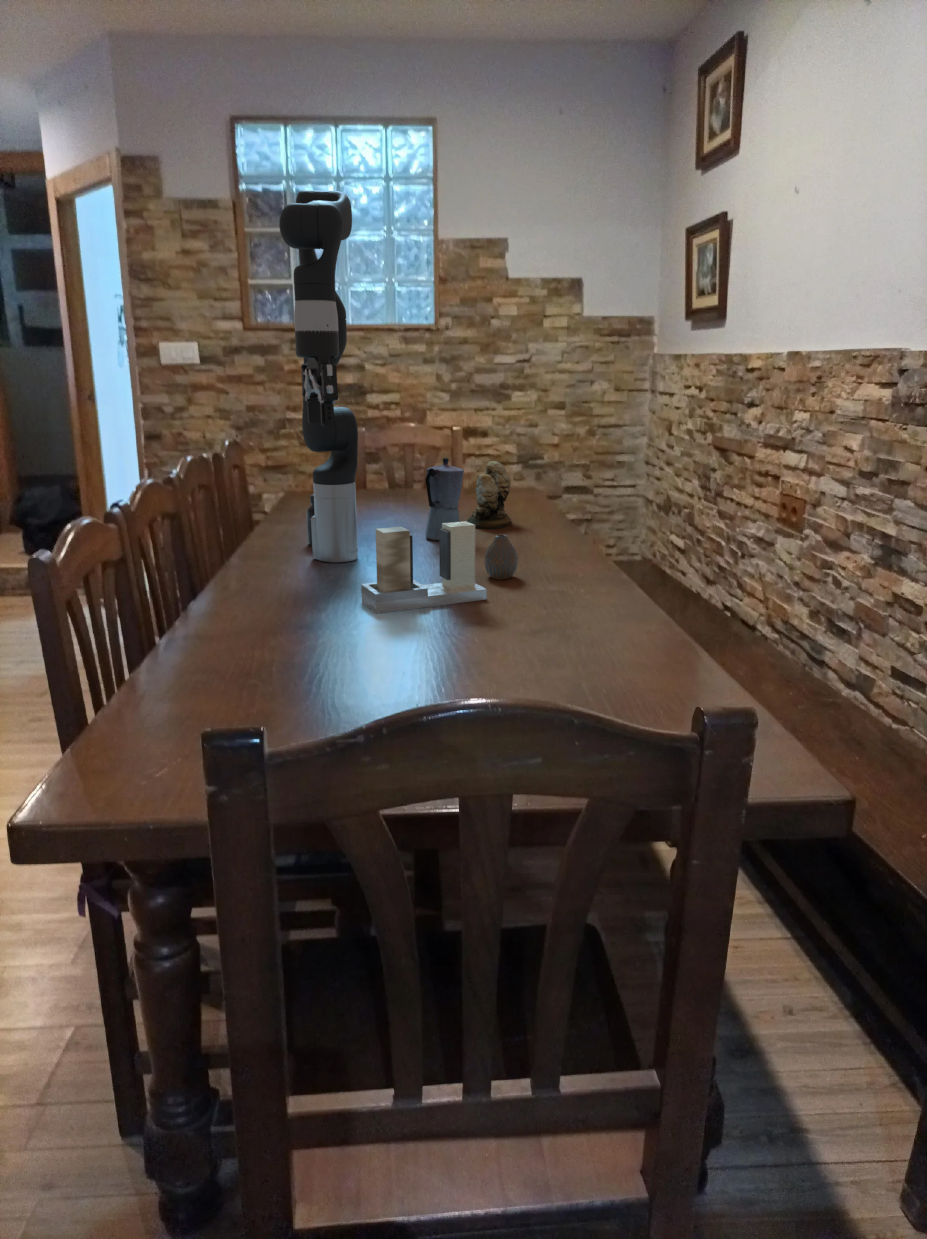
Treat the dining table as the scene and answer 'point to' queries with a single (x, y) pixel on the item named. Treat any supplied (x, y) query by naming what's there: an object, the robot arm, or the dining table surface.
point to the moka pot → (442, 496)
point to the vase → (501, 558)
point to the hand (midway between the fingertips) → (320, 424)
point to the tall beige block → (394, 559)
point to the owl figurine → (491, 498)
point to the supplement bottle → (309, 514)
